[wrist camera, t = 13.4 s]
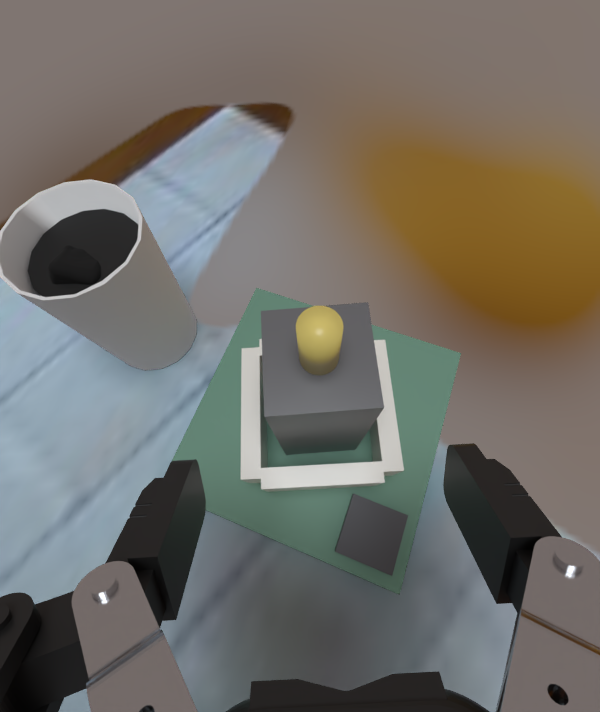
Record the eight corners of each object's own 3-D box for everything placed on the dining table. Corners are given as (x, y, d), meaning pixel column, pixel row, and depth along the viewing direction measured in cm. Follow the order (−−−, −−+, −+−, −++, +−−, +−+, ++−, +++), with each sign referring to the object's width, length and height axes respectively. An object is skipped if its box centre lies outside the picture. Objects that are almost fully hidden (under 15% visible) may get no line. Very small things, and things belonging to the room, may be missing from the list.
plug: (286, 455, 22) (253, 397, 11) (282, 388, 24) (250, 274, 12) (355, 449, 22) (398, 386, 10) (347, 383, 23) (377, 263, 12)
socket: (250, 492, 21) (240, 490, 19) (250, 359, 24) (241, 340, 22) (393, 484, 21) (405, 481, 18) (376, 351, 24) (383, 331, 21)
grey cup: (192, 381, 25) (120, 306, 16) (95, 372, 25) (-31, 295, 16) (211, 292, 27) (158, 182, 18) (122, 286, 28) (26, 176, 19)
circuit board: (164, 489, 23) (153, 488, 21) (258, 295, 27) (255, 283, 26) (395, 590, 20) (402, 597, 19) (455, 359, 25) (464, 349, 23)
